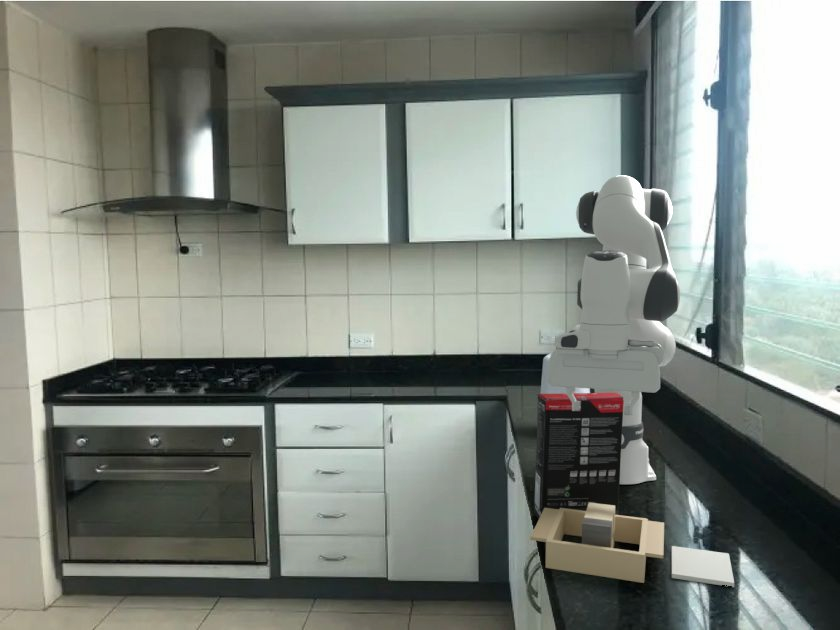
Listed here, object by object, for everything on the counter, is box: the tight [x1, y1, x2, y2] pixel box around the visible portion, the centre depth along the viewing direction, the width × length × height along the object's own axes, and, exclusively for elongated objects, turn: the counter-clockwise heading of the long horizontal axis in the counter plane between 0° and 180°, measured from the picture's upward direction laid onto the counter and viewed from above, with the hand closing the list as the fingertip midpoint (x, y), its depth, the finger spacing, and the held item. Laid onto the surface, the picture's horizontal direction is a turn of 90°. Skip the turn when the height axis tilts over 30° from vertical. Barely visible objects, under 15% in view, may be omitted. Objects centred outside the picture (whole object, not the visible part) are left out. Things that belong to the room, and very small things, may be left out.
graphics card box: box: [533, 392, 624, 520], centre depth 146 cm, size 17×7×27 cm, turn 96°
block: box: [581, 502, 615, 548], centre depth 130 cm, size 11×5×8 cm, turn 160°
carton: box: [530, 508, 665, 584], centre depth 130 cm, size 17×23×5 cm
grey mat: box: [671, 545, 735, 588], centre depth 125 cm, size 12×10×1 cm
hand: (602, 412), depth 128 cm, fingers open, 8 cm apart
